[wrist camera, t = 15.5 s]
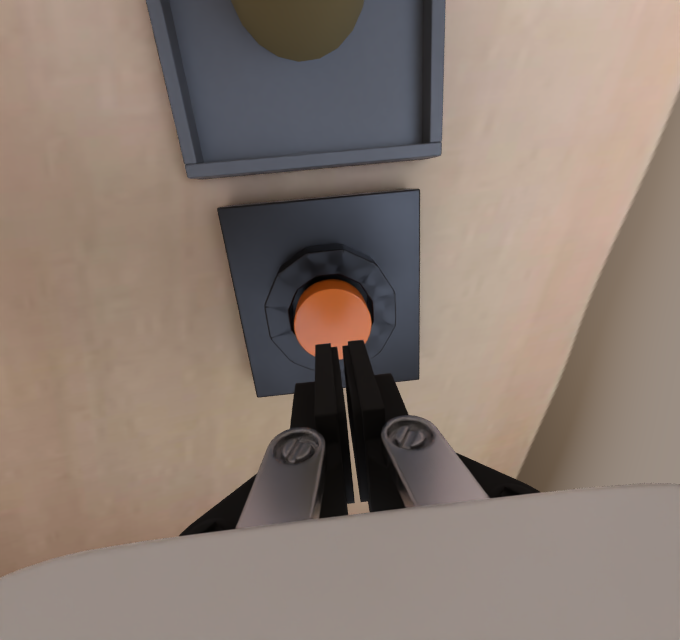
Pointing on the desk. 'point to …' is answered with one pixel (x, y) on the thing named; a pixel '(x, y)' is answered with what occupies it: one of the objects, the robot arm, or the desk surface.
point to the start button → (331, 316)
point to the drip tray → (301, 90)
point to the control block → (325, 277)
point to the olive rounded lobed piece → (299, 25)
